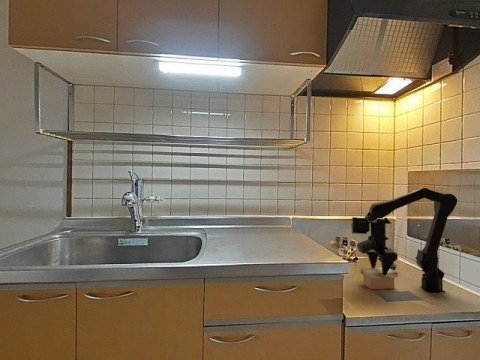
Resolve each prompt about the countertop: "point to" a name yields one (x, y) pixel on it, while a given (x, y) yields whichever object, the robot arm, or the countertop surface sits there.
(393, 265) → the salt shaker
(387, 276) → the beige block on tray
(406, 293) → the mat
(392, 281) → the open box
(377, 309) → the countertop surface
